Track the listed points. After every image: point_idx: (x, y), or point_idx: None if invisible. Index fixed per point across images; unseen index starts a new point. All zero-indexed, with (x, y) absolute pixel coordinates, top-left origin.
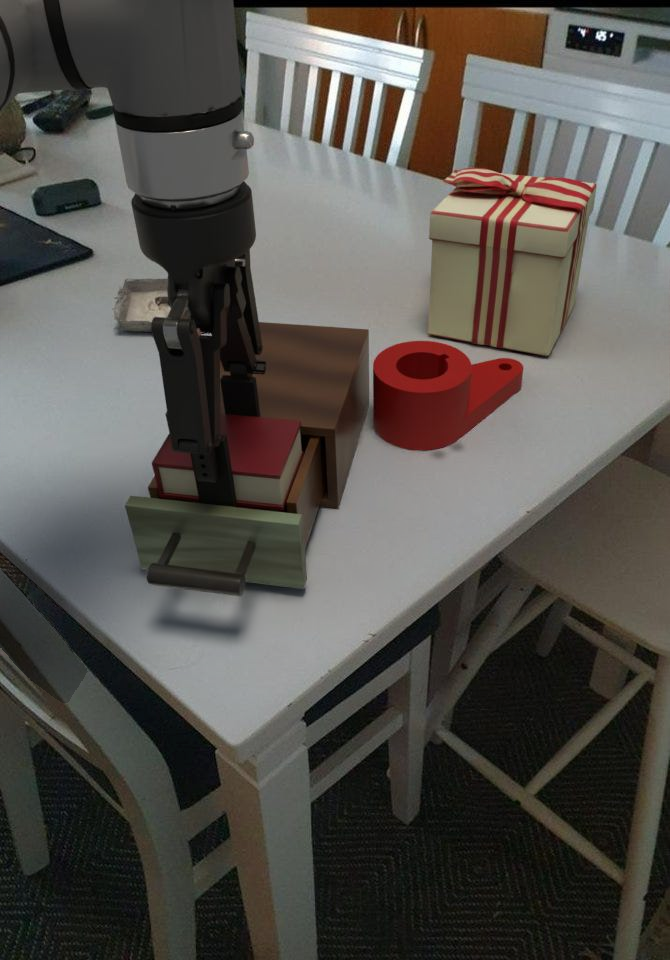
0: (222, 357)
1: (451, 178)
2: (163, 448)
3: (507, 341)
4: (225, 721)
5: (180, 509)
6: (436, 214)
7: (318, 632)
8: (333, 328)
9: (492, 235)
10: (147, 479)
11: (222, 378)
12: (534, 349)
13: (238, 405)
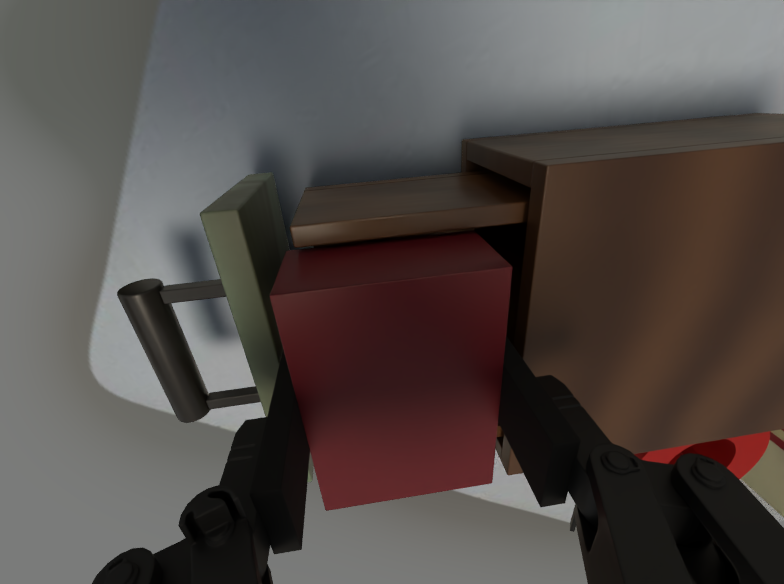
0: (606, 530)
1: None
2: (335, 297)
3: (769, 444)
4: (98, 370)
5: (243, 329)
6: None
7: (260, 404)
8: None
9: None
10: (490, 49)
11: (561, 447)
12: None
13: (511, 412)
